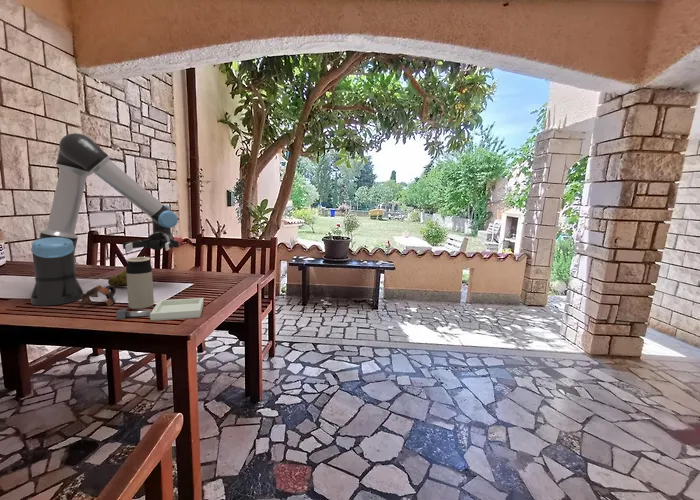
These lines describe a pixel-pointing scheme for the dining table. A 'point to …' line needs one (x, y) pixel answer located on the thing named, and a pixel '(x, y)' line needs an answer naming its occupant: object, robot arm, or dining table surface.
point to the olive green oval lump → (118, 280)
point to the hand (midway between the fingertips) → (146, 247)
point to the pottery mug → (105, 291)
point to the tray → (177, 309)
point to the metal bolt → (131, 313)
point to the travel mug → (139, 283)
